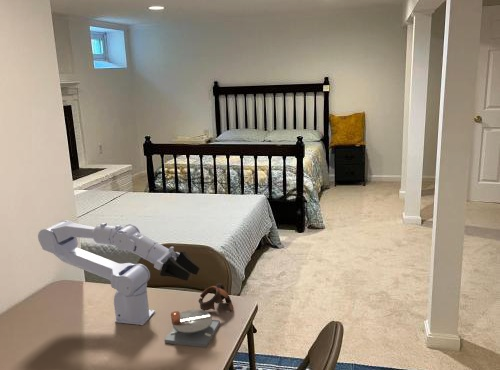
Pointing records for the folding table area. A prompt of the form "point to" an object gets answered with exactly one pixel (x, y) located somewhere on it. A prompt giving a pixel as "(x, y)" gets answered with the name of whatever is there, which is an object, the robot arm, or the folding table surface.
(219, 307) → the folding table surface
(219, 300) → the brown curved ring
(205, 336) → the wheel base
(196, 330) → the handwheel
